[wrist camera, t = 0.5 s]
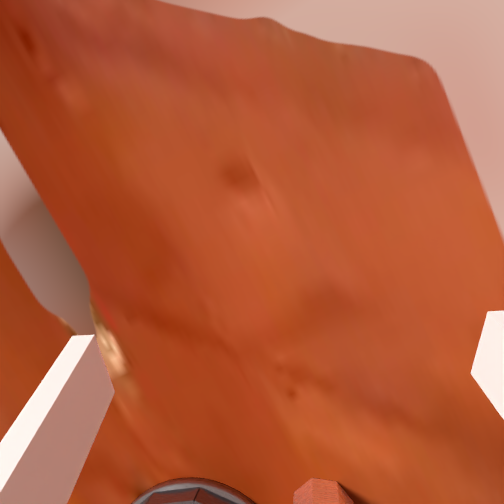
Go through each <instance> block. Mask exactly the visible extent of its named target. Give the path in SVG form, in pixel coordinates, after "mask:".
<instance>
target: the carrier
mask: <svg viewBox="0 0 504 504" xmlns="http://www.w3.org/2000/svg"><path fill="white" fill-rule="evenodd" d="M131 504H255V503H254V502H253V501H252V500H251V499H249V498H248V497H246V496H245V495H243V494H242V493H241V492H239V491H237V490H235V489H233V488H231V487H229V486H228V485H225V484H222V483H219V482H217V481H213V480H208V479H204V478H193V477H191V478H178V479H173V480H168V481H165V482H163V483H160V484H157V485H155V486H153V487H152V488H150V489H148V490H147V491H145V492H144V493H142V494H141V495H140V496H139V497H138V498H137V499H136V500H135V501H133V502H132V503H131Z"/></svg>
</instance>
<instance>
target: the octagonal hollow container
mask: <svg viewBox="0 0 504 504" xmlns="http://www.w3.org/2000/svg"><path fill="white" fill-rule="evenodd" d="M293 504H354V502H353V500H352V499H351V498H350V497H349V496H348V494H347V493H346V492H345V491H344V490H343V488H342V487H341V486H340V485H339V484H338V482H337V481H330V480H324V479H317V478H311V479H310V480H309V481H307V482H306V483H305V484H304V485H302V486H301V487H300V488H299V489H297V490H296V491H295V492H294V503H293Z"/></svg>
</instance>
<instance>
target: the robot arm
mask: <svg viewBox="0 0 504 504" xmlns="http://www.w3.org/2000/svg"><path fill="white" fill-rule="evenodd" d="M471 374H472V376H473V377H474V379H475V380H476V381H477V383H478V384H479V386H480V387H481V388H482V390H483V391H484V393H485V394H486V395H487V397H488V398H489V400H490V401H491V403H492V404H493V405H494V407H495V408H496V410H497V411H498V412H499V414H500V415H501V417H502V418H503V419H504V311H490V312H488V313H487V316H486V320H485V323H484V327H483V331H482V334H481V338H480V341H479V345H478V349H477V352H476V356H475V359H474V363H473V367H472V370H471ZM114 393H115V391H114V388H113V385H112V383H111V380H110V377H109V374H108V371H107V369H106V366H105V363H104V360H103V357H102V355H101V352H100V349H99V346H98V343H97V341H96V338H95V335H82V336H72V337H71V339H70V340H69V342H68V343H67V345H66V346H65V348H64V349H63V351H62V352H61V354H60V355H59V357H58V358H57V360H56V361H55V363H54V364H53V366H52V367H51V368H50V370H49V371H48V373H47V374H46V376H45V377H44V379H43V380H42V382H41V383H40V385H39V386H38V388H37V389H36V391H35V392H34V394H33V395H32V397H31V398H30V400H29V401H28V402H27V404H26V405H25V407H24V408H23V410H22V411H21V413H20V414H19V416H18V417H17V419H16V420H15V422H14V423H13V425H12V426H11V428H10V429H9V431H8V432H7V434H6V435H5V436H4V438H3V439H2V441H1V442H0V504H67V502H68V500H69V498H70V495H71V493H72V491H73V488H74V486H75V484H76V481H77V479H78V477H79V474H80V472H81V470H82V467H83V465H84V463H85V460H86V458H87V456H88V453H89V451H90V449H91V446H92V444H93V442H94V439H95V437H96V435H97V432H98V430H99V428H100V425H101V423H102V421H103V418H104V416H105V414H106V411H107V409H108V407H109V404H110V402H111V400H112V397H113V395H114Z"/></svg>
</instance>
